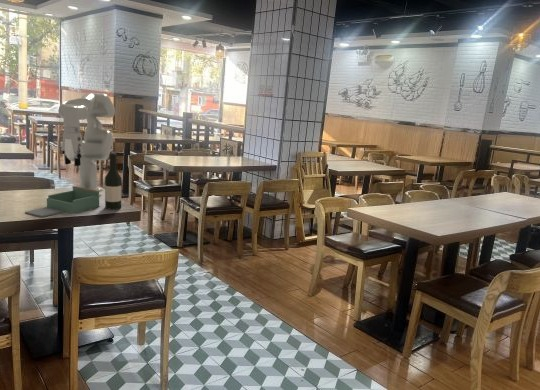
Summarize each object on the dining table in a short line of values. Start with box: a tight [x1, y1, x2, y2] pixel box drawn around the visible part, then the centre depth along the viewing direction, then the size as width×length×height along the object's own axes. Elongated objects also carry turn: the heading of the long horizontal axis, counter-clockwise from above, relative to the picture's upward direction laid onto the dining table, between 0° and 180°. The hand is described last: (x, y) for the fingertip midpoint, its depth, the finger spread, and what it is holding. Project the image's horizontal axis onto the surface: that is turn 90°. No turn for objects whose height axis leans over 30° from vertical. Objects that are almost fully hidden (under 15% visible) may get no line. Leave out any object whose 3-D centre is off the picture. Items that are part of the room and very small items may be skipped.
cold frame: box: [46, 185, 101, 214], centre depth 232 cm, size 18×18×9 cm
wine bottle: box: [104, 152, 122, 211], centre depth 235 cm, size 8×8×30 cm
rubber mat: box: [24, 206, 64, 218], centre depth 219 cm, size 12×12×1 cm
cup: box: [65, 139, 80, 162], centre depth 228 cm, size 7×7×21 cm
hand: (72, 164), depth 228 cm, fingers closed on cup, 6 cm apart
